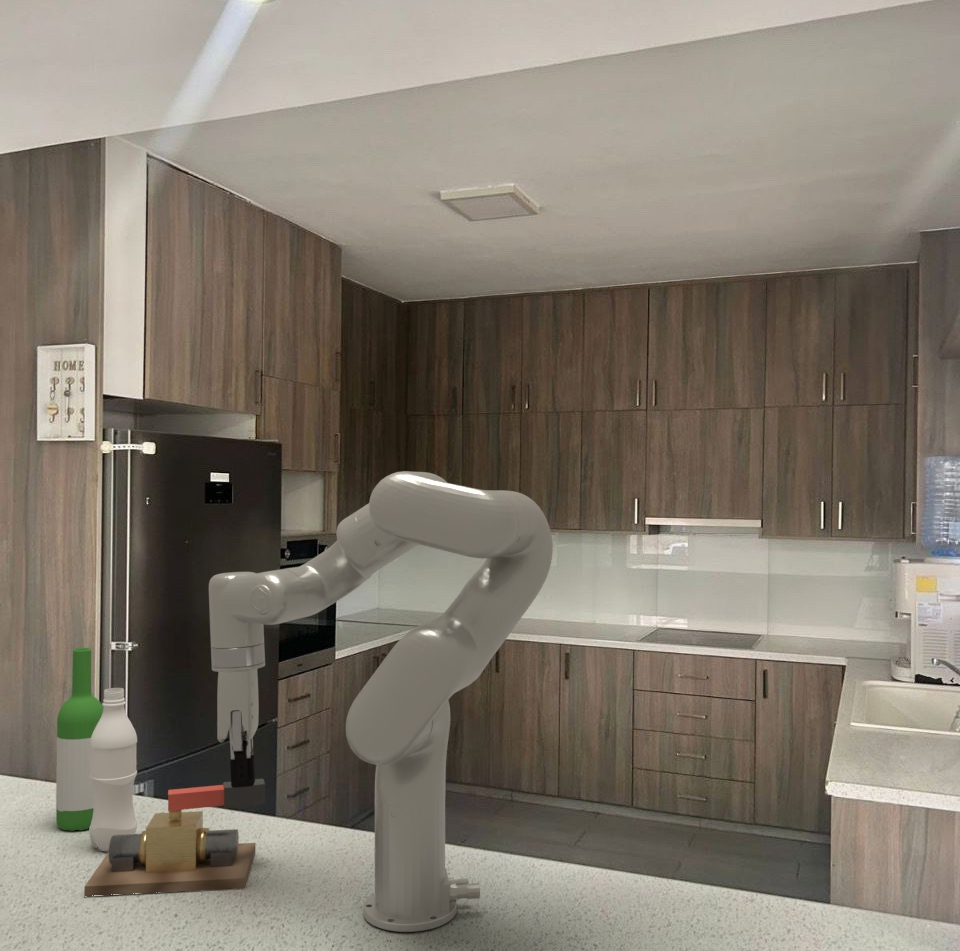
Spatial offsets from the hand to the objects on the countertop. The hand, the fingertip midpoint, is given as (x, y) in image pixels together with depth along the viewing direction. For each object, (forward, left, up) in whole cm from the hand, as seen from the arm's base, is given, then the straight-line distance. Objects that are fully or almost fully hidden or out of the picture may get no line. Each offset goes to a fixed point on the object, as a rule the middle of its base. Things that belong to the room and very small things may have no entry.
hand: (243, 785), depth 138 cm
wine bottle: (+31, -30, -15) cm, 45 cm away
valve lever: (+5, -7, -6) cm, 11 cm away
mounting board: (+11, -6, -14) cm, 19 cm away
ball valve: (+11, -6, -13) cm, 18 cm away
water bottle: (+23, -19, -15) cm, 33 cm away
